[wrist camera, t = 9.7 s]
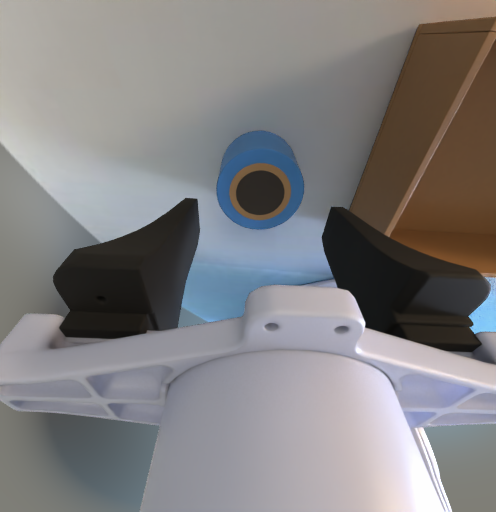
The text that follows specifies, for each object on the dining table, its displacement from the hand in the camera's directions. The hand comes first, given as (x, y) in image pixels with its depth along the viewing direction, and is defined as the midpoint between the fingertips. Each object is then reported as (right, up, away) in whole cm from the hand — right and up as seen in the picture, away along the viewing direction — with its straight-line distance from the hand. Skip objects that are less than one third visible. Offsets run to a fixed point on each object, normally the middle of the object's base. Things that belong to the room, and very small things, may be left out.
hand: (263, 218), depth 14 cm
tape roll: (0, +4, +4) cm, 6 cm away
